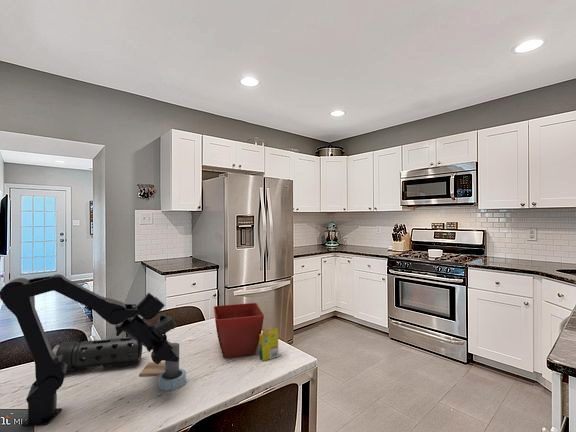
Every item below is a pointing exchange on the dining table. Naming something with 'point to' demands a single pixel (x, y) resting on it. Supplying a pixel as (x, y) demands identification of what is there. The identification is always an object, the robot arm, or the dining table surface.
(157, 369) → the mat
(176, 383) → the collar
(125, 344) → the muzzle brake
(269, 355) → the crayon box
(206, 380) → the dining table surface
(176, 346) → the plug
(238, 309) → the plant pot
